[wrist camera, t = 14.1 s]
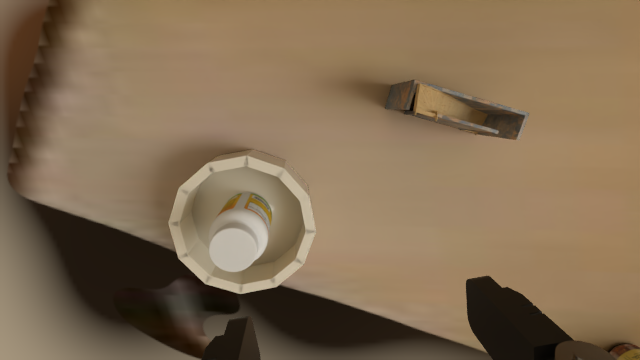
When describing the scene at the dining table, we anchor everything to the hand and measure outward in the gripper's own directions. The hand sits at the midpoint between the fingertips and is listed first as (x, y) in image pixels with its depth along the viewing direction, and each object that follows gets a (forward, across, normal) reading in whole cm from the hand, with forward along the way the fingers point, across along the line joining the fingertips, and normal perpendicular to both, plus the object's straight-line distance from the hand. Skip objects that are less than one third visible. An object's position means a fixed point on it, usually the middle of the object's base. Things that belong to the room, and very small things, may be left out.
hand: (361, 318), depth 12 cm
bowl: (+26, +9, +4) cm, 28 cm away
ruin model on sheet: (+28, -14, -4) cm, 31 cm away
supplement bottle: (+26, +9, +4) cm, 27 cm away
